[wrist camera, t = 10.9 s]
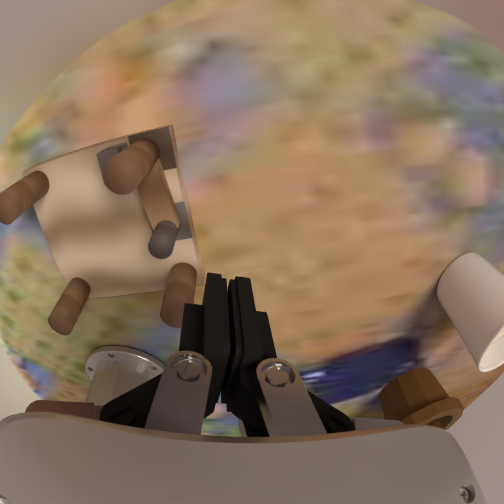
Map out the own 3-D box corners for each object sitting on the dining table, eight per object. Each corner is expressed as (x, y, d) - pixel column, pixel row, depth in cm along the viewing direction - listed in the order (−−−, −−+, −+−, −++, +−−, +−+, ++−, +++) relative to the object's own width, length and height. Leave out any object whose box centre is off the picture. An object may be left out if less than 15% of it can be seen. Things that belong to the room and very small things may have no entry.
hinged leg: (186, 230, 24) (177, 268, 20) (159, 237, 24) (144, 276, 20) (154, 134, 20) (132, 149, 15) (125, 144, 20) (96, 163, 15)
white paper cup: (452, 241, 30) (515, 306, 19) (495, 250, 31) (549, 304, 21) (419, 308, 34) (463, 378, 24) (465, 308, 36) (507, 366, 26)
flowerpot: (353, 409, 46) (394, 558, 21) (401, 357, 40) (472, 531, 14) (407, 406, 50) (452, 529, 24) (453, 359, 43) (519, 494, 17)
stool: (205, 272, 29) (201, 328, 23) (81, 288, 29) (55, 337, 23) (173, 123, 22) (150, 139, 15) (33, 164, 22) (-15, 194, 15)
